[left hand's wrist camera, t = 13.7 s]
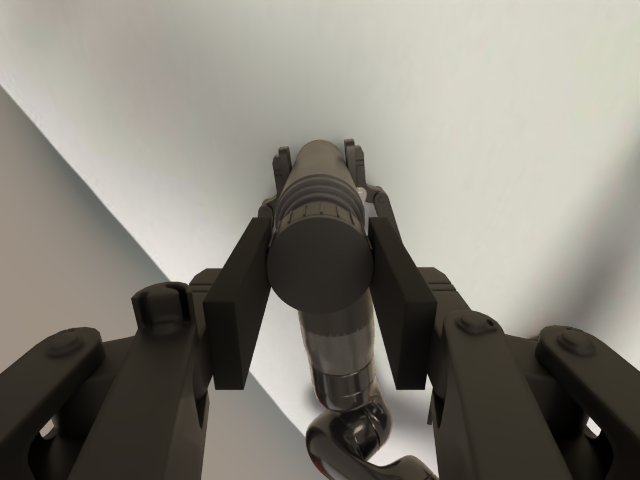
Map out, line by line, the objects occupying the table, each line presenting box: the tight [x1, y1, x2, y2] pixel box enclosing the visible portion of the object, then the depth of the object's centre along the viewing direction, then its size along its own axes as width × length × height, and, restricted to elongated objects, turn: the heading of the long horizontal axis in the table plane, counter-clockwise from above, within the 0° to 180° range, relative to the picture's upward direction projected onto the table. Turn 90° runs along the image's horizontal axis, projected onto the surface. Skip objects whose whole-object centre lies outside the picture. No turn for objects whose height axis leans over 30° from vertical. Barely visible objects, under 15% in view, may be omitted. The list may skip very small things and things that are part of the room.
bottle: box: [275, 140, 365, 229], centre depth 24 cm, size 5×5×24 cm
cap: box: [266, 202, 374, 314], centre depth 14 cm, size 4×4×2 cm
